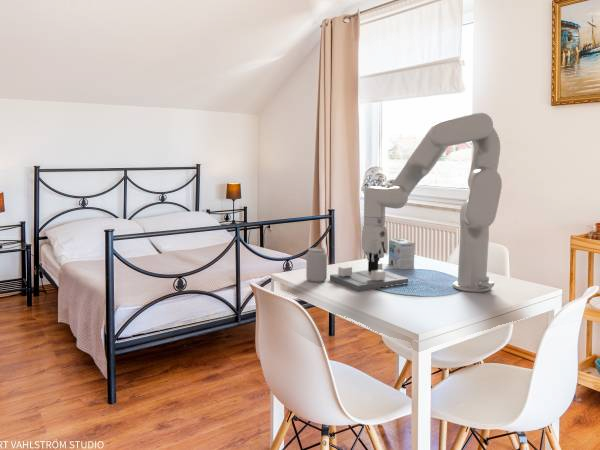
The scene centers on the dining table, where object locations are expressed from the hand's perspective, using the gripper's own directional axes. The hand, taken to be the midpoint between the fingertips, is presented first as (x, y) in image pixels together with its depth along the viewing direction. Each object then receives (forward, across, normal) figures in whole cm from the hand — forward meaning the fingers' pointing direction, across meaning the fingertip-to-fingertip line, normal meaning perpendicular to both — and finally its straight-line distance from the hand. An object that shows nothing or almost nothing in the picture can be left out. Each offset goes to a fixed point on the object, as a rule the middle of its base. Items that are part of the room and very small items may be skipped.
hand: (373, 271), depth 189 cm
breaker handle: (+2, -3, 0) cm, 4 cm away
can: (+5, +13, +16) cm, 21 cm away
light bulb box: (+5, +18, -28) cm, 33 cm away
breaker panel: (+4, +2, 0) cm, 5 cm away
